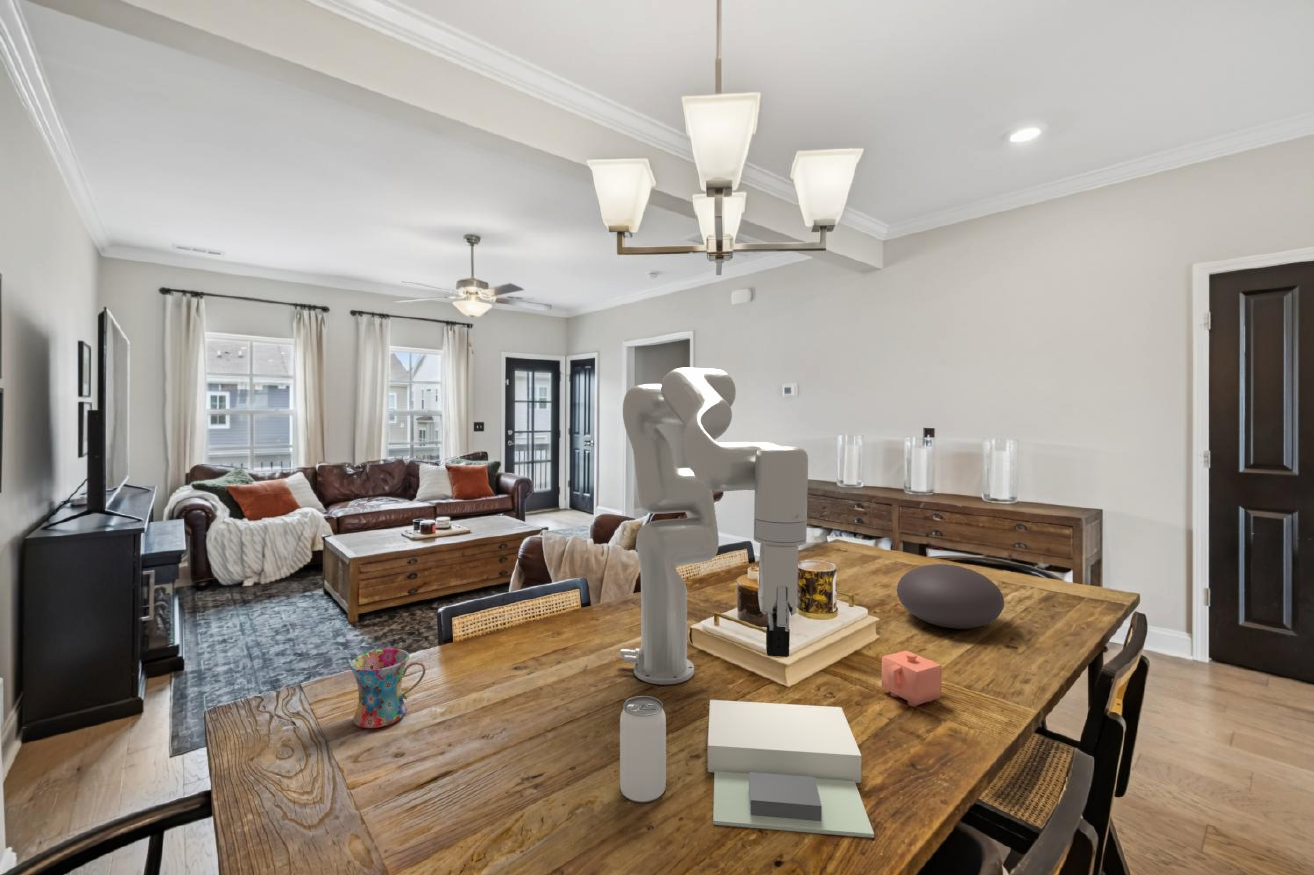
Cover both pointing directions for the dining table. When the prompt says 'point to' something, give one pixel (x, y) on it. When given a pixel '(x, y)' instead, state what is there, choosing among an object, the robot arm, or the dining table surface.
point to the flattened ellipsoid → (950, 596)
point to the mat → (838, 818)
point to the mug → (381, 686)
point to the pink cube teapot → (911, 677)
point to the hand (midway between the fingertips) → (777, 653)
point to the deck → (782, 740)
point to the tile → (784, 796)
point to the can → (642, 749)
